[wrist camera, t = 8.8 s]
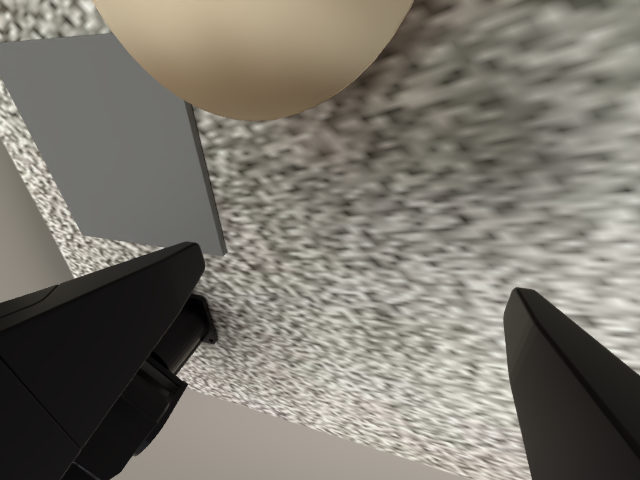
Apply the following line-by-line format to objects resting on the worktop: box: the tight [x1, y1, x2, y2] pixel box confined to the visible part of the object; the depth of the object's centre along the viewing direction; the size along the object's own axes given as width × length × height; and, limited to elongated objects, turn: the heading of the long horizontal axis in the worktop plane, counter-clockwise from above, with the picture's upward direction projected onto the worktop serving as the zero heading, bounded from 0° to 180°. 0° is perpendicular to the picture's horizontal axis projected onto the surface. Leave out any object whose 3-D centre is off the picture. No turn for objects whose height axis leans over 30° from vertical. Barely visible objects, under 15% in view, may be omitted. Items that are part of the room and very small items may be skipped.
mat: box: [0, 33, 227, 256], centre depth 25 cm, size 16×16×1 cm
